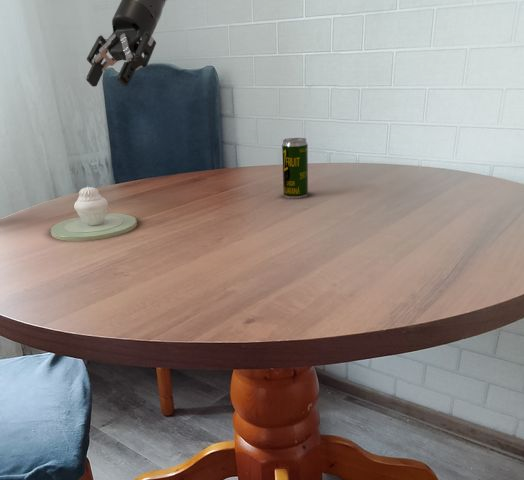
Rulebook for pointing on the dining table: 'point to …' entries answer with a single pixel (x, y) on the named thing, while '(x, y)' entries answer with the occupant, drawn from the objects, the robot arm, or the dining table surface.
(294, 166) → the green drink can
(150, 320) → the dining table surface
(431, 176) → the dining table surface
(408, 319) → the dining table surface
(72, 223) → the plate
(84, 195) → the muffin
